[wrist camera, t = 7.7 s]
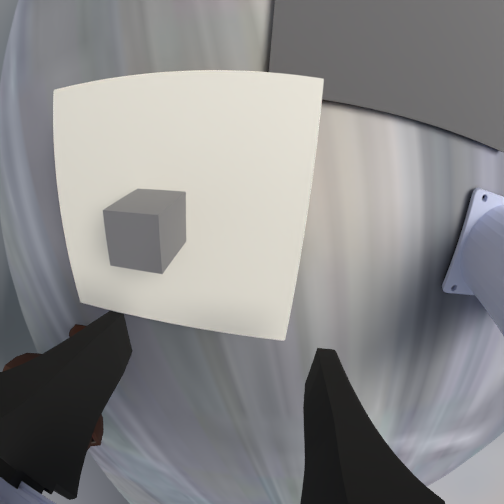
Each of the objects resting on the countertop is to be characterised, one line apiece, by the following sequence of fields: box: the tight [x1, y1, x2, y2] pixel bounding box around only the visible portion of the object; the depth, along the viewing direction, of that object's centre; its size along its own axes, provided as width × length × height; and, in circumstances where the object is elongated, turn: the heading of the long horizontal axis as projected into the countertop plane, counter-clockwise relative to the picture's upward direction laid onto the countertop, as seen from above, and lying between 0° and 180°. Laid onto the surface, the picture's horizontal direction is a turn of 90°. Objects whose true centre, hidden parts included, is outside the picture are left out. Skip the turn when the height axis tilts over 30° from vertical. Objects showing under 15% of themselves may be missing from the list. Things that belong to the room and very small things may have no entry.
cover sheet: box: [53, 70, 324, 341], centre depth 12 cm, size 13×13×4 cm
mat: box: [269, 0, 504, 152], centre depth 10 cm, size 16×16×1 cm
